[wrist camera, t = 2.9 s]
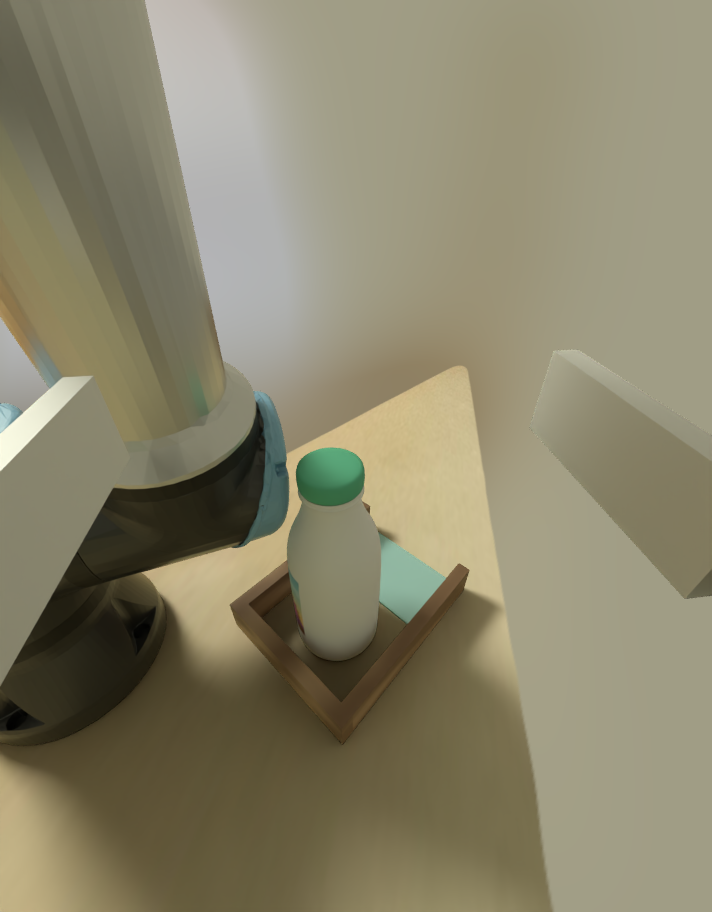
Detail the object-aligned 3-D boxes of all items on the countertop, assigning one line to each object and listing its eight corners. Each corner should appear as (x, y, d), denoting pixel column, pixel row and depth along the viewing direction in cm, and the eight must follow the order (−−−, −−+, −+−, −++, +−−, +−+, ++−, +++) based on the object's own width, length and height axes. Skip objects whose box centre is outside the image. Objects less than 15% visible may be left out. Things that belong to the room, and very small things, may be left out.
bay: (236, 624, 37) (229, 604, 35) (362, 521, 48) (362, 501, 46) (342, 744, 30) (341, 728, 28) (463, 590, 40) (469, 569, 38)
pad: (331, 563, 43) (331, 562, 43) (371, 528, 47) (371, 527, 47) (410, 627, 37) (410, 626, 37) (448, 581, 41) (449, 580, 41)
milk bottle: (389, 607, 39) (405, 450, 27) (354, 680, 33) (355, 524, 21) (324, 577, 42) (312, 422, 29) (282, 640, 36) (245, 481, 24)
